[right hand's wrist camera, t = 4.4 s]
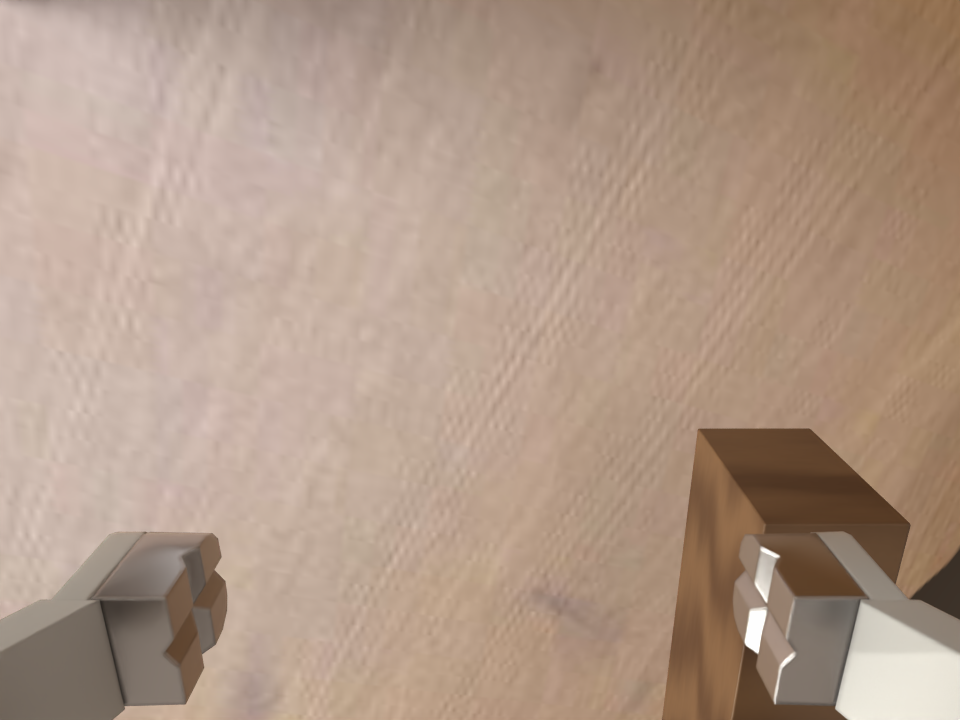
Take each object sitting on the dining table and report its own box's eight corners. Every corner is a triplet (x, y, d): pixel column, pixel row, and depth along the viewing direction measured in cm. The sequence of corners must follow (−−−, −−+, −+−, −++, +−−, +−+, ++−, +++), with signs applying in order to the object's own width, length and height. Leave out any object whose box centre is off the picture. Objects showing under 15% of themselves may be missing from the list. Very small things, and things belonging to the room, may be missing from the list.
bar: (697, 428, 32) (764, 524, 25) (810, 427, 32) (912, 524, 25) (655, 773, 40) (696, 927, 32) (746, 772, 40) (808, 926, 32)
